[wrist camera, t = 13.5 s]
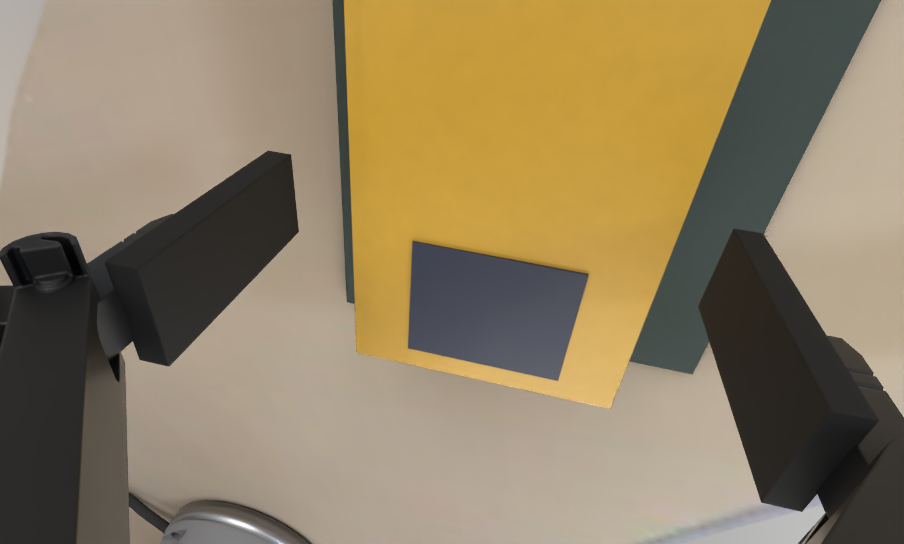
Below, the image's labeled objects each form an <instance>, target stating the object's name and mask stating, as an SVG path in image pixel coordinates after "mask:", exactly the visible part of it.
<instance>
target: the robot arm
mask: <svg viewBox="0 0 904 544" xmlns="http://www.w3.org/2000/svg"><path fill="white" fill-rule="evenodd" d="M298 232H299V230H298V220H297V210H296V200H295V190H294V180H293V170H292V160H291V155H290V154H284V153H278V152H272V151H267V152H265V153H264V154H263V155H261V156H260V157H258V158H257V159H255V160H254V161H252V162H251V163H249V164H248V165H246V166H245V167H243V168H242V169H240V170H239V171H237V172H236V173H234V174H233V175H232V176H230V177H229V178H227V179H226V180H224V181H223V182H221V183H220V184H218V185H217V186H215V187H214V188H212V189H211V190H209V191H208V192H206V193H205V194H204V195H202V196H201V197H199V198H198V199H196V200H195V201H193V202H192V203H190V204H189V205H187V206H186V207H184V208H183V209H181V210H180V211H178V212H177V213H175V214H170V215H168V216H165V217H162V218H159V219H157V220H154V221H151V222H150V223H148V224H147V225H145V226H144V227H142V228H141V229H139V230H138V231H136V234H134V233H133V234H132V235H130V236H129V237H127V238H125V239H124V242H119V243H118V244H116V245H115V246H113V247H112V248H110V249H109V250H107V251H106V252H104V253H103V254H101V255H100V256H98V257H97V258H95V259H94V260H92V261H91V262H89V263H88V264H87V263H86V261H85V258H84V256H83V253H82V250H81V248H80V245H79V243H78V240H77V238H76V237H75V236H73V235H71V234H69V233H61V232H48V233H40V234H35V235H30V236H26V237H24V238H21V239H18V240H16V241H13V242H12V243H10V244H8V245H7V246H5V247H4V248H3V249H2V250H1V251H0V260H1V262H2V264H3V266H4V268H5V270H6V272H7V274H8V276H9V278H10V280H11V282H12V284H13V286H0V544H130V533H129V507H131V508H132V509H133V510H134V511H135V512H136V513H138V514H139V515H140V516H141V517H142V518H144V519H145V520H146V521H148V522H149V523H151V524H152V525H153V526H155V527H156V528H157V529H159V530H160V531H162V532H163V533H164V536H163V538H162V541H161V544H309V543H308V542H307V541H306V540H305V539H303V538H302V537H301V536H300V535H298V534H297V533H296V532H294V531H293V530H291V529H290V528H288V527H287V526H285V525H283V524H281V523H280V522H278V521H276V520H274V519H272V518H270V517H268V516H266V515H264V514H261V513H259V512H257V511H254V510H251V509H248V508H245V507H242V506H239V505H235V504H230V503H225V502H218V501H198V502H193V503H189V504H187V505H185V506H183V507H182V508H181V509H180V510H179V511H178V513H177V514H176V516H175V517H174V518H173V520H172V521H171V523H168V522H167V521H166V520H164V519H163V518H161V517H160V516H159V515H157V514H156V513H155V512H153V511H152V510H150V509H149V508H148V507H147V506H146V505H144V504H143V503H142V502H141V501H140V500H138V499H137V498H136V497H134V496H133V495H132V494H130V493H128V458H127V420H126V382H125V362H124V359H123V356H122V354H121V351H122V350H123V349H124V348H125V347H126V346H127V345H129V344H130V343H131V342H132V341H133V342H134V345H135V348H136V351H137V354H138V356H139V359H140V360H143V361H148V362H152V363H156V364H161V365H165V366H170V365H171V364H172V363H173V362H174V361H175V360H176V359H177V358H178V357H179V356H180V355H181V354H182V353H183V352H184V351H185V350H186V349H187V348H188V346H189V345H190V344H191V343H192V342H193V341H194V340H195V339H196V338H197V337H198V336H199V335H200V334H201V333H202V332H203V331H204V330H205V329H206V328H207V327H208V326H209V325H210V324H211V323H212V322H213V320H214V319H215V318H216V317H217V316H218V315H219V314H220V313H221V312H222V311H223V310H224V309H225V308H226V307H227V306H228V305H229V304H230V303H231V302H232V301H233V300H234V299H235V298H236V297H237V295H238V294H239V293H240V292H241V291H242V290H243V289H244V288H245V287H246V286H247V285H248V284H249V283H250V282H251V281H252V280H253V279H254V278H255V277H256V276H257V275H258V274H259V273H260V272H261V271H262V269H263V268H264V267H265V266H266V265H267V264H268V263H269V262H270V261H271V260H272V259H273V258H274V257H275V256H276V255H277V254H278V253H279V252H280V251H281V250H282V249H283V248H284V247H285V246H286V245H287V243H288V242H289V241H290V240H291V239H292V238H293V237H294V236H295V235H296V234H297V233H298ZM698 308H699V311H700V314H701V317H702V320H703V323H704V326H705V329H706V333H707V336H708V339H709V342H710V345H711V348H712V351H713V354H714V357H715V360H716V363H717V367H718V370H719V373H720V376H721V379H722V382H723V385H724V388H725V391H726V394H727V397H728V401H729V404H730V407H731V410H732V413H733V416H734V419H735V422H736V425H737V428H738V432H739V435H740V438H741V441H742V444H743V447H744V450H745V453H746V456H747V459H748V462H749V466H750V469H751V472H752V475H753V478H754V481H755V484H756V487H757V490H758V493H759V496H760V500H761V502H762V503H766V504H770V505H775V506H779V507H784V508H788V509H792V510H797V511H801V512H802V511H803V510H804V509H805V508H806V506H807V505H808V504H809V503H810V502H811V500H812V499H813V498H814V497H815V496H816V495H817V494H818V496H819V498H820V501H821V503H822V505H823V508H824V510H825V512H826V513H825V514H824V515H823V516H822V517H821V519H820V520H819V521H818V522H817V523H816V524H815V525H814V526H813V527H812V529H811V530H810V531H809V532H808V533H807V534H806V535H805V536H804V537H803V539H802V540H801V541H800V542H799V543H798V544H904V417H903V416H902V414H901V413H900V411H899V410H898V408H897V407H896V405H895V404H894V403H893V401H892V400H891V398H890V397H889V395H888V394H887V392H886V391H883V386H882V385H881V383H880V382H879V380H878V379H877V377H875V376H873V372H872V370H871V369H870V367H869V366H868V364H867V363H866V361H865V360H864V358H863V357H862V355H860V354H859V353H858V352H857V351H856V350H855V349H853V348H852V347H851V346H850V345H849V344H847V343H846V342H845V341H844V340H843V339H842V338H837V337H831V336H826V334H825V332H824V331H823V329H822V328H821V326H820V324H819V323H818V321H817V320H816V318H815V316H814V315H813V313H812V312H811V310H810V308H809V307H808V305H807V304H806V302H805V300H804V299H803V297H802V296H801V294H800V292H799V291H798V289H797V287H796V286H795V284H794V283H793V281H792V279H791V278H790V276H789V275H788V273H787V271H786V270H785V268H784V267H783V265H782V263H781V262H780V260H779V259H778V257H777V255H776V254H775V252H774V251H773V249H772V247H771V246H770V244H769V243H768V241H767V239H766V238H765V236H764V235H763V233H759V232H753V231H747V230H741V229H735V228H733V231H732V233H731V235H730V237H729V239H728V242H727V244H726V246H725V248H724V250H723V253H722V255H721V257H720V259H719V261H718V264H717V266H716V268H715V270H714V272H713V275H712V277H711V279H710V281H709V283H708V285H707V288H706V290H705V292H704V294H703V296H702V299H701V301H700V303H699V305H698Z"/></svg>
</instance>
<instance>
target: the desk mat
mask: <svg viewBox="0 0 904 544" xmlns="http://www.w3.org/2000/svg"><path fill="white" fill-rule="evenodd" d="M880 1H881V0H771V2H770V5H769V7H768V10H767V12H766V15H765V17H764V20H763V22H762V25H761V28H760V30H759V33H758V35H757V38H756V40H755V43H754V45H753V48H752V50H751V53H750V55H749V58H748V61H747V63H746V66H745V68H744V71H743V73H742V76H741V78H740V81H739V83H738V86H737V89H736V91H735V94H734V96H733V99H732V101H731V104H730V106H729V109H728V111H727V114H726V116H725V119H724V122H723V124H722V127H721V129H720V132H719V134H718V137H717V139H716V142H715V144H714V147H713V149H712V152H711V155H710V157H709V160H708V162H707V165H706V167H705V170H704V172H703V175H702V177H701V180H700V182H699V185H698V188H697V190H696V193H695V195H694V198H693V200H692V203H691V205H690V208H689V210H688V213H687V216H686V218H685V221H684V223H683V226H682V228H681V231H680V233H679V236H678V238H677V241H676V243H675V246H674V249H673V251H672V254H671V256H670V259H669V261H668V264H667V266H666V269H665V271H664V274H663V276H662V279H661V282H660V284H659V287H658V289H657V292H656V294H655V297H654V299H653V302H652V304H651V307H650V309H649V312H648V315H647V317H646V320H645V322H644V325H643V327H642V330H641V332H640V335H639V337H638V340H637V343H636V345H635V348H634V350H633V353H632V355H631V358H630V360H629V361H631V362H636V363H641V364H645V365H650V366H655V367H660V368H665V369H669V370H674V371H679V372H684V373H688V374H693V372H694V370H695V368H696V366H697V364H698V362H699V360H700V358H701V356H702V354H703V352H704V351H705V349H706V347H707V345H708V343H709V339H708V336H707V333H706V329H705V326H704V323H703V320H702V317H701V314H700V311H699V308H698V305H699V303H700V301H701V299H702V296H703V294H704V292H705V290H706V288H707V285H708V283H709V281H710V279H711V277H712V275H713V272H714V270H715V268H716V266H717V264H718V261H719V259H720V257H721V255H722V253H723V250H724V248H725V246H726V244H727V242H728V239H729V237H730V235H731V233H732V231H733V228H735V229H741V230H747V231H753V232H759V233H764V232H765V230H766V228H767V226H768V224H769V222H770V220H771V218H772V216H773V214H774V212H775V210H776V208H777V206H778V204H779V202H780V200H781V198H782V196H783V194H784V192H785V190H786V188H787V186H788V184H789V182H790V180H791V178H792V176H793V174H794V172H795V170H796V168H797V166H798V164H799V162H800V160H801V158H802V156H803V154H804V152H805V150H806V148H807V146H808V144H809V142H810V140H811V138H812V136H813V134H814V132H815V130H816V128H817V126H818V124H819V122H820V120H821V118H822V116H823V115H824V113H825V111H826V109H827V107H828V105H829V103H830V101H831V99H832V97H833V95H834V93H835V91H836V89H837V87H838V85H839V83H840V81H841V79H842V77H843V75H844V73H845V71H846V69H847V67H848V65H849V63H850V61H851V59H852V57H853V55H854V53H855V51H856V49H857V47H858V45H859V43H860V41H861V39H862V37H863V35H864V33H865V31H866V29H867V27H868V25H869V23H870V21H871V19H872V17H873V15H874V13H875V11H876V9H877V7H878V5H879V3H880ZM333 19H334V40H335V61H336V82H337V103H338V124H339V145H340V166H341V187H342V208H343V229H344V250H345V271H346V292H347V302H349V303H354V304H355V296H354V268H353V241H352V213H351V186H350V158H349V131H348V103H347V76H346V48H345V20H344V0H333Z"/></svg>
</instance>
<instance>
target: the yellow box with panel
mask: <svg viewBox="0 0 904 544" xmlns="http://www.w3.org/2000/svg"><path fill="white" fill-rule="evenodd" d="M770 2H771V0H344V20H345V48H346V76H347V103H348V131H349V158H350V186H351V213H352V241H353V268H354V296H355V323H356V351H357V353H361V354H366V355H370V356H375V357H379V358H384V359H388V360H393V361H397V362H402V363H406V364H411V365H415V366H419V367H424V368H428V369H433V370H437V371H442V372H446V373H451V374H455V375H460V376H464V377H469V378H473V379H478V380H482V381H487V382H491V383H496V384H500V385H505V386H509V387H514V388H518V389H523V390H527V391H532V392H536V393H541V394H545V395H550V396H554V397H559V398H563V399H568V400H572V401H577V402H581V403H586V404H590V405H595V406H599V407H604V408H608V409H610V408H611V406H612V403H613V401H614V398H615V396H616V393H617V391H618V388H619V386H620V383H621V381H622V378H623V376H624V373H625V370H626V368H627V365H628V363H629V360H630V358H631V355H632V353H633V350H634V348H635V345H636V343H637V340H638V337H639V335H640V332H641V330H642V327H643V325H644V322H645V320H646V317H647V315H648V312H649V309H650V307H651V304H652V302H653V299H654V297H655V294H656V292H657V289H658V287H659V284H660V282H661V279H662V276H663V274H664V271H665V269H666V266H667V264H668V261H669V259H670V256H671V254H672V251H673V249H674V246H675V243H676V241H677V238H678V236H679V233H680V231H681V228H682V226H683V223H684V221H685V218H686V216H687V213H688V210H689V208H690V205H691V203H692V200H693V198H694V195H695V193H696V190H697V188H698V185H699V182H700V180H701V177H702V175H703V172H704V170H705V167H706V165H707V162H708V160H709V157H710V155H711V152H712V149H713V147H714V144H715V142H716V139H717V137H718V134H719V132H720V129H721V127H722V124H723V122H724V119H725V116H726V114H727V111H728V109H729V106H730V104H731V101H732V99H733V96H734V94H735V91H736V89H737V86H738V83H739V81H740V78H741V76H742V73H743V71H744V68H745V66H746V63H747V61H748V58H749V55H750V53H751V50H752V48H753V45H754V43H755V40H756V38H757V35H758V33H759V30H760V28H761V25H762V22H763V20H764V17H765V15H766V12H767V10H768V7H769V5H770Z"/></svg>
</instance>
